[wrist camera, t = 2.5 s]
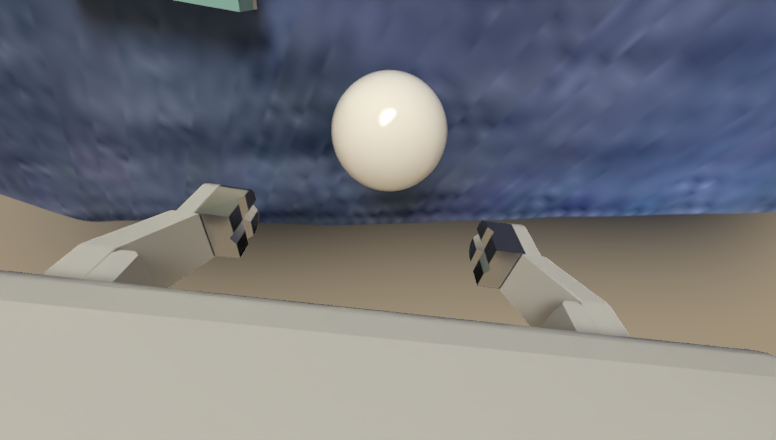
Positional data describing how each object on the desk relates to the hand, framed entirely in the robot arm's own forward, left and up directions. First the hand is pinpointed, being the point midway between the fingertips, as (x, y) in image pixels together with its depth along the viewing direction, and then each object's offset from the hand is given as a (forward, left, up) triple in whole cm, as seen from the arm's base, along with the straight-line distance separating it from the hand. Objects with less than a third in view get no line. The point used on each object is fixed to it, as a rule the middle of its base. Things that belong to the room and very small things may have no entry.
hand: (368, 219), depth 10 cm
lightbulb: (0, 0, -15) cm, 15 cm away
